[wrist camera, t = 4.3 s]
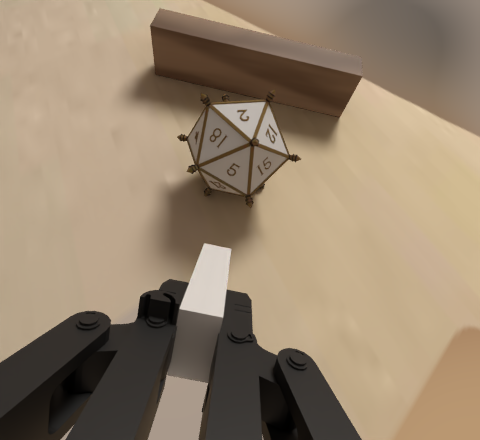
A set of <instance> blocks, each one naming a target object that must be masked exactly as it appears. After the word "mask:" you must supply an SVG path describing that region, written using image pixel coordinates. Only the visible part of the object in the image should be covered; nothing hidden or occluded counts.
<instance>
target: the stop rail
mask: <svg viewBox="0 0 480 440" xmlns="http://www.w3.org/2000/svg"><path fill="white" fill-rule="evenodd" d="M150 27H151V36H152V46H153V55H154V64H155V73H156V75H160V76H165V77H169V78H173V79H178V80H182V81H186V82H191V83H195V84H199V85H203V86H208V87H212V88H216V89H221V90H225V91H229V92H234V93H238V94H242V95H247V96H251V97H255V98H260V99H266V98H267V95H268V93H269V92H270V91H273V90H275V97H274V98H273V100H271V101H273V102H277V103H281V104H286V105H290V106H294V107H298V108H303V109H307V110H311V111H316V112H320V113H324V114H329V115H333V116H337V117H340V116H341V114H342V112H343V111H344V109H345V107H346V105H347V103H348V102H349V100H350V98H351V96H352V94H353V93H354V91H355V89H356V87H357V85H358V83H359V82H360V80H361V78H362V58H361V57H359V56H355V55H351V54H347V53H343V52H338V51H335V50H330V49H326V48H322V47H317V46H314V45H310V44H306V43H301V42H297V41H293V40H289V39H285V38H281V37H277V36H272V35H268V34H264V33H260V32H256V31H252V30H248V29H243V28H239V27H235V26H231V25H227V24H223V23H219V22H214V21H210V20H206V19H202V18H198V17H194V16H190V15H185V14H181V13H177V12H173V11H169V10H165V9H161V8H160V9H159V11H158V13H157V14H156V16H155V18H154V20H153V22H152V23H151V25H150Z"/></svg>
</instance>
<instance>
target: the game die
mask: <svg viewBox="0 0 480 440" xmlns="http://www.w3.org/2000/svg"><path fill="white" fill-rule="evenodd" d="M274 97H275V90H273V91H270V92H269V93H268V95H267V98H266V99H264V100H246V101H229V99H228V98H229V96H227V95H225V94H224V95H223V97H222V99H223V102H212V103H210V100H209V98H208V96H207V95H205V94H202V93H201V101H202V102H203V104H205V105H206V107H205V109H204V110H203V112H202V114H201V116H200V117H199V119H198V121H197V122H196V124H195V126H194V127H193V129H192V131H191V132H190V134H189V136H185V135H182V134H181V135H180V136H178V137H177V138H178V139H179V140H180V141H187V142H188V145H189V148H190V151H191V154H192V157H193V160H194V163H195V165H191V166H189V168H188V170H187V172H190V173H192V174H193V173H194V172H196V170H198V172H199V173H200V175H201V176H202V178H203V179H204V181H205V183H206V184H207V186H208V188H207V189H206V190H205V191H204V192H205V196H207V195H210V193H211V190H212V189H213V190H218V191H222V192H226V193H231V194H235V195H240V196H244V197H246V200H245V201H246V204H247V205H248V206H249V207H250V208H251V207H252V204H253V201H252V198H251V195H252V194H253V193H254V192H255V191H256V190H257V189H258V188H259V187H260V188H263V189H264V185H265V184H264V183H265V182H266V181H267V180H268V179H269V178H270V177H271V176H272V175H273V174H274V173H275V172H276V171H277V170H278V169H279V168H280V167H281V166H282V165H283V164H284V163H285V162H286V161H287V160H289V159H290V160H292V162H293V161H295V162H296V161H298V160H301V158H300V157H298V156H297V155H294V154H293V155H289V152H288V149H287V147H286V144H285V141H284V139H283V136H282V134H281V131H280V128H279V126H278V123H277V121H276V118H275V115H274V113H273V110H272V107H271V105H270V101H271V100H273V98H274ZM228 101H229V102H228Z"/></svg>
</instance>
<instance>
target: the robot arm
mask: <svg viewBox="0 0 480 440" xmlns="http://www.w3.org/2000/svg"><path fill="white" fill-rule="evenodd" d="M230 256H231V249H230V248H225V247H220V246H215V245H210V244H206V243H204V245H203V248H202V250H201V253H200V256H199V258H198V261H197V264H196V266H195V269H194V272H193V274H192V277H191V279H190V282H189V283H187V282H182V281H177V280H172V279H169V280H167V281H166V282H164V283H162V285H161V287H160V289H159V290H153V291H148V292H146V293H144V294H142V295H141V296H140V302H139V309H138V316H137V319H136V321H135V322H134V323H129V324H113V325H110V324H111V320H110V318H109V317H108V316H107V315H105V314H104V313H101V312H97V311H85V312H80V313H77V314H75V315H73V316H71V317H69V318H68V319H66V320H65V321H63V322H62V323H60V324H59V325H57V326H56V327H54V328H52V329H51V330H49V331H48V332H46V333H45V334H43V335H42V336H40V337H39V338H37V339H36V340H34V341H33V342H31V343H30V344H28V345H27V346H25V347H24V348H22V349H21V350H19V351H17V352H16V353H14V354H13V355H11V356H10V357H8V358H7V359H5V360H4V361H2V362H1V363H0V440H60V439H61V438H62V437H63V436H64V435H65V434H66V433H67V432H68V431H69V429H70V428H71V427H72V426H73V425H74V426H73V428H72V430H71V432H70V433H69V435H68V436H67V438H66V440H147V439H148V436H149V433H150V430H151V427H152V424H153V421H154V417H155V414H156V411H157V408H158V405H159V402H160V398H161V395H162V392H163V389H164V385H165V380H166V375H169V376H174V377H180V378H185V379H190V380H195V381H201V382H206V383H208V386H207V391H206V395H205V399H204V404H203V408H202V412H203V415H202V421H201V427H200V434H199V440H262V435H263V438H264V440H362V439H361V438H360V436H359V435H358V433H357V431H356V430H355V428H354V426H353V425H352V423H351V421H350V420H349V418H348V416H347V415H346V413H345V411H344V410H343V408H342V406H341V405H340V403H339V401H338V400H337V398H336V396H335V395H334V393H333V391H332V390H331V388H330V386H329V385H328V383H327V381H326V380H325V378H324V376H323V375H322V373H321V371H320V370H319V368H318V366H317V365H316V363H315V362H314V361H313V359H312V358H311V357H310V356H308V355H307V354H306V353H304V352H302V351H300V350H297V349H292V348H287V349H283V350H281V351H280V352H279V353H278V356H277V355H275V354H273V353H270V352H268V351H266V350H264V349H263V348H262V347H260V346H259V345H258V344H257V340H256V337H255V335H254V334H253V330H252V305H251V299H250V298H249V296H248V295H247V294H246V293H241V292H236V291H231V290H227V281H228V273H229V265H230ZM167 372H168V373H167Z"/></svg>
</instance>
